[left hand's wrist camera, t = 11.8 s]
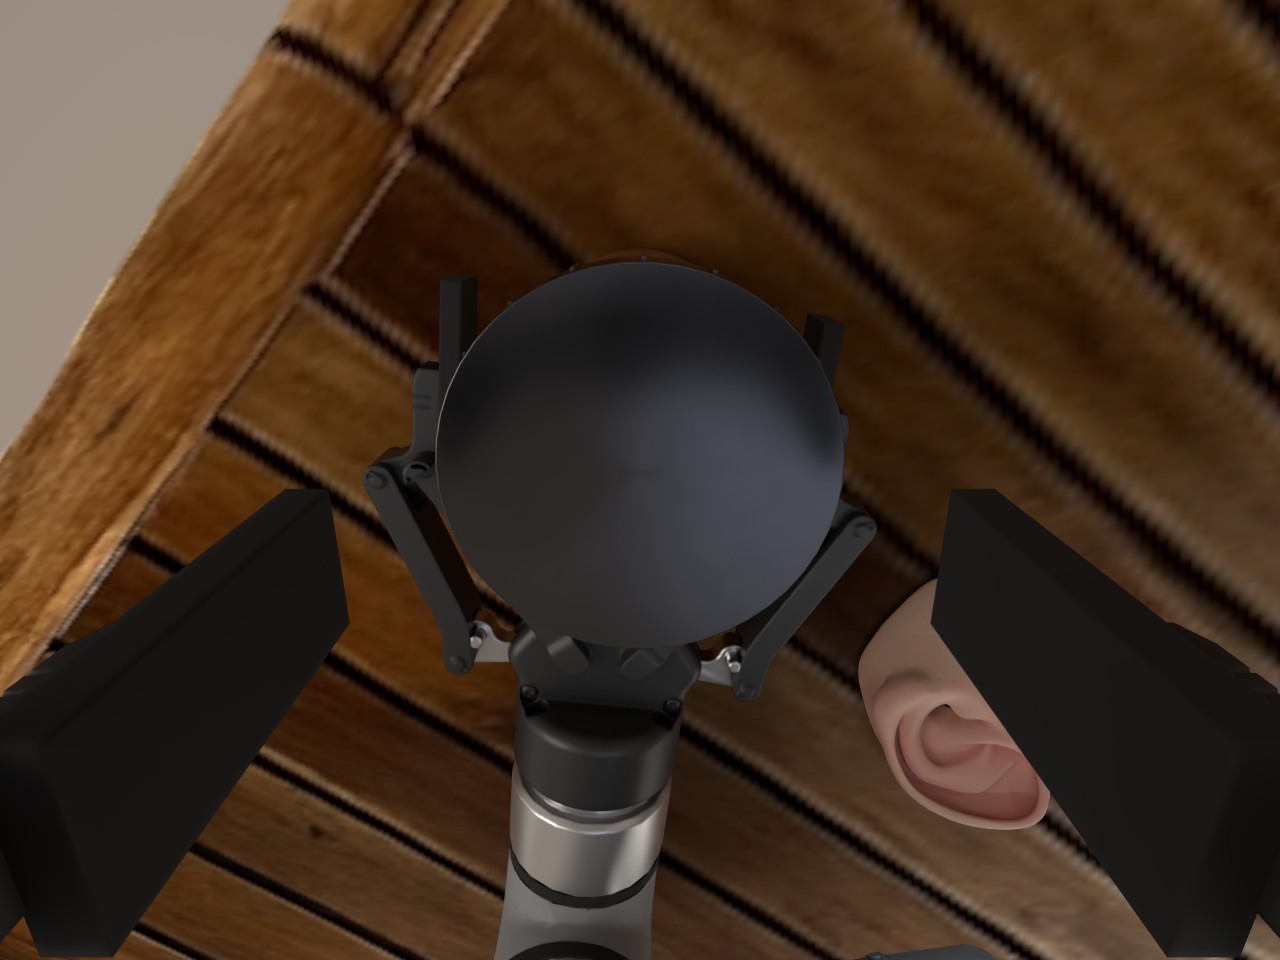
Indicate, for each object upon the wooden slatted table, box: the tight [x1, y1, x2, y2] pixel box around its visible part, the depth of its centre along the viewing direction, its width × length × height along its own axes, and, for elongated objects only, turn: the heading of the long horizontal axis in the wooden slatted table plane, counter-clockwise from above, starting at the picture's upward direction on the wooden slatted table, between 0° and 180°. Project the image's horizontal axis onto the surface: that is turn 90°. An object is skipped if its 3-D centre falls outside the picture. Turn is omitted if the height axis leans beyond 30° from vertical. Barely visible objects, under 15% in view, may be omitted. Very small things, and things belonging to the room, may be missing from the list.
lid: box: [435, 253, 845, 649], centre depth 18 cm, size 10×10×2 cm
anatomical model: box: [858, 579, 1050, 830], centre depth 38 cm, size 13×4×12 cm
